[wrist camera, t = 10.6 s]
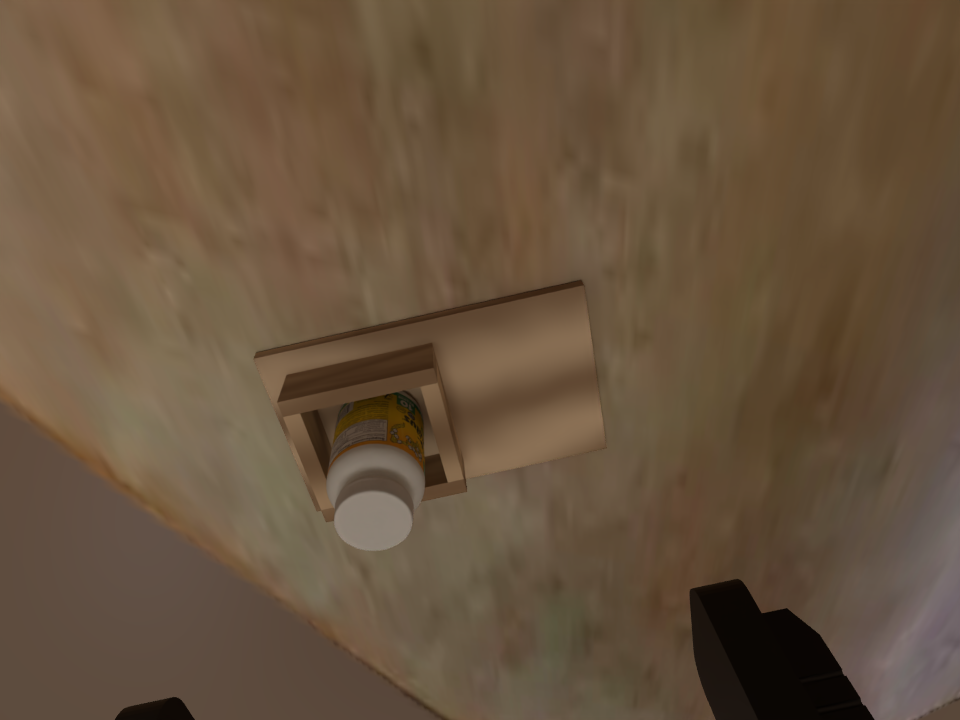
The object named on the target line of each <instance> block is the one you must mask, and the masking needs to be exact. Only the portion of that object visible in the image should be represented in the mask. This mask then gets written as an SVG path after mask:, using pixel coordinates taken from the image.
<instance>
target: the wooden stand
mask: <svg viewBox="0 0 960 720" xmlns="http://www.w3.org/2000/svg"><path fill="white" fill-rule="evenodd" d="M254 362H255V364H256V366H257V369H258V371H259V374H260V376H261V378H262V381H263V383H264V386H265V388H266V390H267V393H268V395H269V398H270V400H271V402H272V405H273V407H274V410H275V412H276V414H277V417H278V419H279V422H280V424H281V426H282V429H283V431H284V434H285V436H286V438H287V441H288V443H289V446H290V448H291V450H292V453H293V455H294V458H295V460H296V462H297V465H298V467H299V470H300V472H301V474H302V477H303V479H304V482H305V484H306V486H307V489H308V491H309V494H310V496H311V498H312V501H313V503H314V506H315V508H316V510H317V511H322V513H323V516H324V518H325V521H326V522H330V521H334V513H335V508H334V507H333V506H332V504H331V502H330V500H329V498H328V495H327V489H326V480H327V473H328V467H329V462H330V456H331V451H332V445H333V439H334V433H335V427H336V422H337V418H338V414H339V410H340V408H341V406H342V404H345V403H349V402H354V401H358V400H363V399H367V398H372V397H377V396H381V395H386V394H390V393H395V392H399V391H403V392H405V393H406V394H407V395H409V396H410V397H412V398H413V399H414V400H415V401H416V403H417V404H418V405H419V407H420V410H421V412H422V416H423V424H424V458H425V490H424V495H423V498H422V500H421V502H422V501H426V500H431V499H436V498H440V497H445V496H449V495H454V494H459V493H463V492H467V486H466V479H468V478H473V477H477V476H482V475H487V474H491V473H496V472H500V471H505V470H510V469H514V468H519V467H523V466H528V465H532V464H537V463H542V462H546V461H551V460H555V459H560V458H565V457H569V456H574V455H578V454H583V453H588V452H592V451H597V450H601V449H606V448H607V447H606V440H605V432H604V425H603V418H602V411H601V403H600V396H599V389H598V382H597V374H596V367H595V360H594V353H593V345H592V338H591V331H590V324H589V317H588V309H587V302H586V295H585V288H584V284H583V282H582V281H581V280H580V281H576V282H571V283H567V284H562V285H558V286H553V287H549V288H545V289H540V290H536V291H531V292H527V293H522V294H518V295H513V296H509V297H504V298H500V299H495V300H491V301H486V302H482V303H477V304H473V305H468V306H464V307H459V308H455V309H450V310H446V311H441V312H437V313H432V314H428V315H423V316H419V317H414V318H410V319H405V320H401V321H396V322H392V323H387V324H383V325H378V326H374V327H370V328H365V329H361V330H356V331H352V332H347V333H343V334H338V335H334V336H329V337H325V338H320V339H316V340H311V341H307V342H302V343H298V344H293V345H289V346H284V347H280V348H275V349H271V350H266V351H262V352H257V353H256V354H255V356H254Z"/></svg>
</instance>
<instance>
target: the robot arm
mask: <svg viewBox="0 0 960 720" xmlns="http://www.w3.org/2000/svg"><path fill="white" fill-rule="evenodd" d="M690 608H691V622H692V635H693V649H694V657H695V662H696V666H697V670H698V674H699V677H700V681H701V684H702V687H703V689H704V692H705V695H706V697H707V700H708V702H709V704H710V707H711V709H712V712H713V714H714V716H715V719H716V720H874V718H873V717H872V715H871V714H870V712H869V710H868V709H867V707H866V706H865V705H863V704H862V702H861V699H860V696H859V695H858V693H857V692H856V690H855V689H854V687H853V686H852V684H851V683H850V681H849V679H848V678H847V676H844V675H843V672H842V669H841V667H840V665H839V664H838V662H837V661H836V659H835V658H834V656H833V655H832V653H831V651H830V650H829V648H828V647H827V645H826V644H825V642H824V641H823V639H822V638H821V636H820V634H818V633H817V632H816V631H815V630H813V629H812V628H811V627H810V626H808V625H807V624H806V623H805V622H803V621H802V620H801V619H800V618H798V617H797V616H796V615H795V614H793V613H792V612H791V611H790V610H788V609H787V608H786V609H781V610H776V611H772V612H767V613H761V611H760V610H759V608H758V606H757V604H756V603H755V601H754V599H753V597H752V596H751V594H750V592H749V590H748V589H747V587H746V586H745V584H744V583H743V582H742V581H741V580H740V579H734V580H730V581H725V582H720V583H716V584H711V585H706V586H702V587H697V588H692V589H690ZM115 720H195V719H194V718H193V717H192V715H191V714H190V712H189V710H188V709H187V707H186V706H185V704H184V703H183V702H182V700H180V699H179V698H177V697H172V698H167V699H163V700H158V701H153V702H148V703H144V704H139V705H134V706H130V707H127V708H124V709H123V710H122V711H121V712H120V713H119V714H118V715H117V717H116V719H115Z"/></svg>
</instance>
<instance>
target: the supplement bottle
mask: <svg viewBox="0 0 960 720" xmlns="http://www.w3.org/2000/svg"><path fill="white" fill-rule="evenodd" d="M326 489H327V495H328V498H329V500H330V502H331V504H332V506H333V507H334V508H335V513H334V526H335V529H336V531H337V533H338V535H339V536H340V537H341V539H342V540H344V541H345V542H346V543H348V544H349V545H351V546H353V547H355V548H358V549H361V550H367V551H379V550H385V549H389V548H391V547H394V546H396V545H398V544H399V543H401V542H402V541H403V540H404V539H405V538H406V537H407V536H408V534H409V532H410V531H411V528H412V524H413V512H414V511H415V510H416V509H417V507H418V506H419V504H420V502H421V500H422V498H423V495H424V490H425V458H424V424H423V416H422V412H421V410H420V407H419V405H418V404H417V403H416V401H415V400H414V399H413V398H412V397H410V396H409V395H407V394H406V393H405V392H403V391H399V392H395V393H390V394H386V395H381V396H377V397H372V398H367V399H363V400H358V401H354V402H349V403H345V404H342V406H341V408H340V410H339V414H338V418H337V422H336V427H335V433H334V439H333V445H332V451H331V456H330V462H329V467H328V473H327V480H326Z"/></svg>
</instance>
